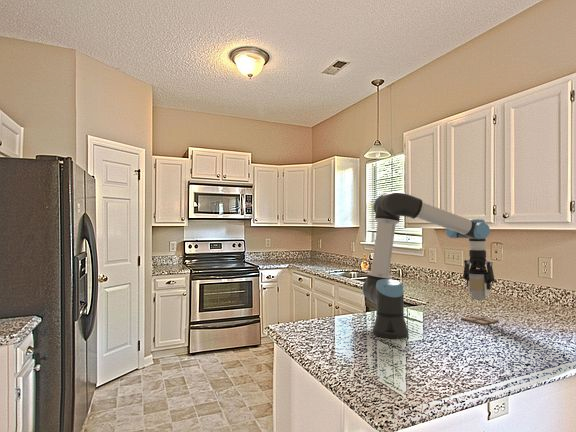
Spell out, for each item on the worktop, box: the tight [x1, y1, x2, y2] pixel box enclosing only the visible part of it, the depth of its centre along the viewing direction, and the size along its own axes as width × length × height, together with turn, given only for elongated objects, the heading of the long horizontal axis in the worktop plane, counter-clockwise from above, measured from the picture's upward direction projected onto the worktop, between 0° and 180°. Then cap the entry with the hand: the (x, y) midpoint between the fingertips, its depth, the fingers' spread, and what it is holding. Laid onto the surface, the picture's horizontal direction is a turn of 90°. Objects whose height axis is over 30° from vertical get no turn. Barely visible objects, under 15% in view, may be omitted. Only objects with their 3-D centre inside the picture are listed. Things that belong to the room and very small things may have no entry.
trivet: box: [460, 314, 499, 326], centre depth 177 cm, size 12×12×1 cm
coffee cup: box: [468, 268, 488, 301], centre depth 178 cm, size 9×9×15 cm
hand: (478, 294), depth 178 cm, fingers closed on coffee cup, 8 cm apart
